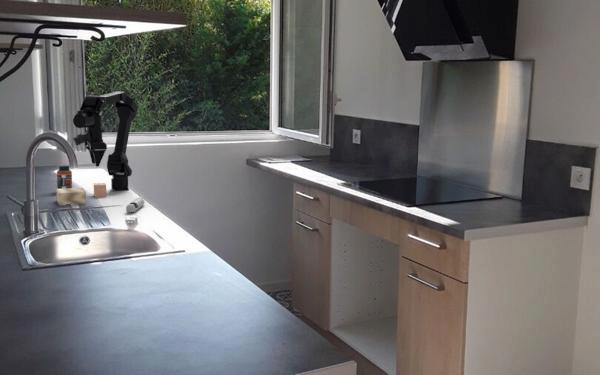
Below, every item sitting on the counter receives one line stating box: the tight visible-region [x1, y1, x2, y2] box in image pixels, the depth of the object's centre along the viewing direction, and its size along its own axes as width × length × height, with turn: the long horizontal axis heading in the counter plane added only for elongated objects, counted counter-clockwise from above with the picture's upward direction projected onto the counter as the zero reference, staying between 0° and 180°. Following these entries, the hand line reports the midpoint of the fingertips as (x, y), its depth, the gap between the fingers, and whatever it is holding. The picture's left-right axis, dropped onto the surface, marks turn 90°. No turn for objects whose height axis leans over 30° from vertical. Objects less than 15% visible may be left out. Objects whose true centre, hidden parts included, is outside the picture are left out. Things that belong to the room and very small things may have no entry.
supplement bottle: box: [56, 164, 73, 189], centre depth 271 cm, size 6×6×11 cm
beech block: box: [55, 187, 87, 206], centre depth 250 cm, size 10×10×5 cm
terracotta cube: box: [93, 182, 107, 198], centre depth 265 cm, size 4×4×5 cm
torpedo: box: [125, 189, 147, 214], centre depth 241 cm, size 18×5×7 cm, turn 179°
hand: (95, 164), depth 261 cm, fingers open, 9 cm apart
